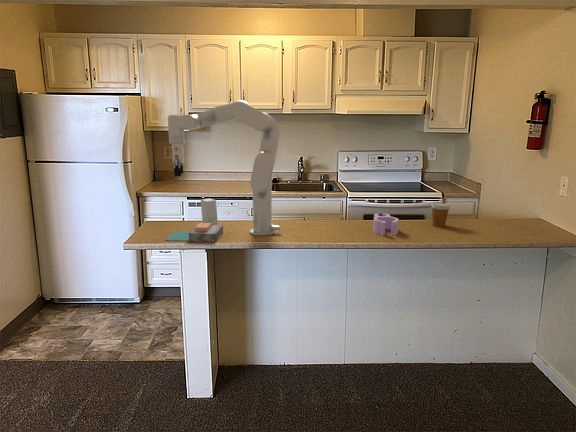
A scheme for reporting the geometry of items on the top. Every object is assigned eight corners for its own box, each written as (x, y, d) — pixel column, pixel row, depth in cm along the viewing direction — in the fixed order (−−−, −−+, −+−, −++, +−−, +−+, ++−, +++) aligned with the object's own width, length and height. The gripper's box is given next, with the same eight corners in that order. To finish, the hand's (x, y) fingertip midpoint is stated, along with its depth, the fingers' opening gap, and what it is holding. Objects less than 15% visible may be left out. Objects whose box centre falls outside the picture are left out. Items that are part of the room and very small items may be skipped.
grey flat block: (223, 232, 230) (223, 225, 229) (216, 241, 215) (215, 233, 214) (198, 232, 231) (198, 224, 230) (189, 241, 215) (188, 233, 215)
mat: (197, 232, 231) (197, 231, 231) (188, 241, 216) (188, 240, 215) (175, 231, 232) (175, 231, 232) (164, 240, 216) (164, 240, 216)
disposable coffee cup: (451, 226, 242) (453, 205, 239) (437, 228, 239) (439, 206, 236) (440, 222, 251) (441, 201, 248) (426, 224, 247) (427, 203, 245)
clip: (368, 225, 245) (369, 213, 243) (391, 225, 246) (391, 213, 244) (376, 235, 226) (377, 222, 224) (401, 235, 226) (402, 222, 224)
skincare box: (218, 227, 241) (217, 200, 237) (207, 229, 237) (206, 201, 234) (211, 224, 247) (210, 197, 244) (201, 225, 244) (200, 198, 241)
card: (211, 226, 226) (211, 222, 226) (207, 231, 217) (207, 227, 217) (200, 226, 227) (199, 222, 226) (195, 231, 218) (194, 227, 217)
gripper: (182, 141, 213) (184, 177, 217) (186, 139, 230) (188, 172, 234) (166, 141, 213) (168, 177, 217) (171, 139, 229) (173, 172, 233)
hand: (179, 174), depth 225 cm, fingers open, 9 cm apart
